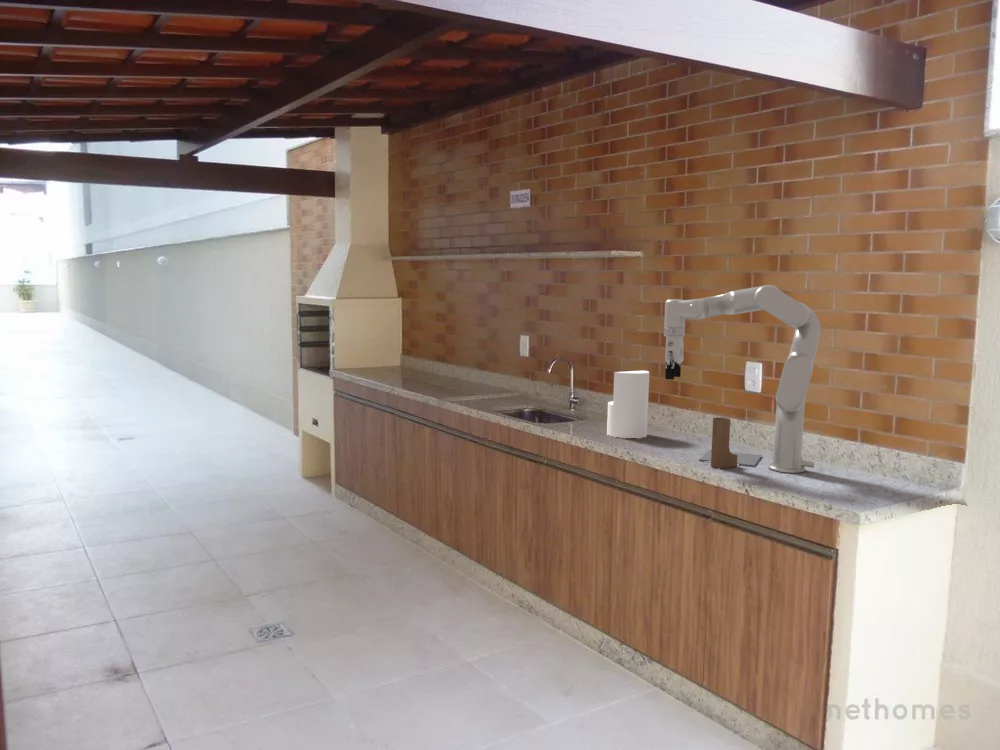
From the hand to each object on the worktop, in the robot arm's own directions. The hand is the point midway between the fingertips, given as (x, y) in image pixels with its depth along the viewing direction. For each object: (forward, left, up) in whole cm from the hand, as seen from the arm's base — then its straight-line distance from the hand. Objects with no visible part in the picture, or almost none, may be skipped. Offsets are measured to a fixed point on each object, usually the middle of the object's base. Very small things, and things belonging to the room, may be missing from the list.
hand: (672, 378), depth 308 cm
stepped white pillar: (+28, -39, -31) cm, 57 cm away
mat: (-21, -11, -31) cm, 39 cm away
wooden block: (-21, +5, -31) cm, 38 cm away
